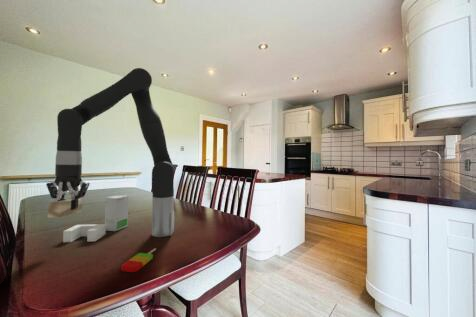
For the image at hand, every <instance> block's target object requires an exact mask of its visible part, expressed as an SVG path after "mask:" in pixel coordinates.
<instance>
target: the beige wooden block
mask: <svg viewBox="0 0 476 317" xmlns="http://www.w3.org/2000/svg"><path fill="white" fill-rule="evenodd" d="M71 200H72V199H65V200H63V201H58V200H57V201H50V202H49V203H48V211H47V219H49V218H50V219H51V218H62V217H66V216H69V215H73V214H78V213H82V210H83V200H84V199H83V198H79V199H78V207H77V209H75V210H71Z"/></svg>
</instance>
